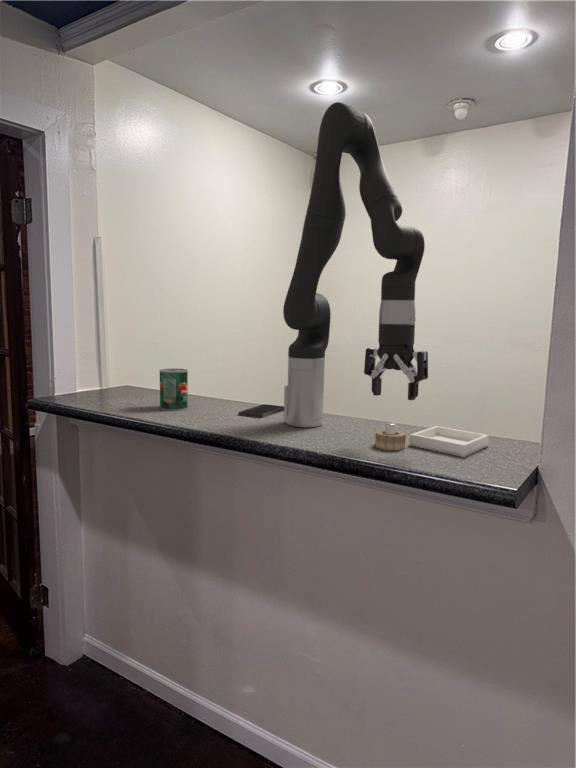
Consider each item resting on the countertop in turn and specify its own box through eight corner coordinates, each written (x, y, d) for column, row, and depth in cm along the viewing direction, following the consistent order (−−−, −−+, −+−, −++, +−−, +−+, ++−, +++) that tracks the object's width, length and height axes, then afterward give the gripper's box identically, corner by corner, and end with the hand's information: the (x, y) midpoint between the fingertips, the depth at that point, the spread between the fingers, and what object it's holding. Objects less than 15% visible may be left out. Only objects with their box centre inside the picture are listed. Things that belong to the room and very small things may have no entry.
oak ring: (369, 446, 118) (370, 432, 117) (385, 441, 123) (385, 428, 122) (395, 451, 114) (395, 437, 113) (410, 446, 118) (411, 433, 118)
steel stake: (382, 446, 118) (384, 423, 117) (388, 444, 120) (389, 422, 119) (391, 448, 117) (392, 425, 116) (396, 446, 118) (398, 423, 118)
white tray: (409, 445, 119) (409, 434, 119) (435, 436, 128) (436, 425, 128) (463, 457, 111) (464, 445, 110) (487, 446, 120) (488, 435, 120)
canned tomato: (190, 410, 153) (190, 371, 151) (162, 411, 150) (161, 372, 148) (185, 404, 160) (184, 368, 158) (157, 406, 157) (157, 368, 155)
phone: (287, 406, 157) (261, 415, 144) (287, 410, 157) (261, 419, 144) (263, 404, 160) (236, 412, 147) (263, 407, 161) (236, 416, 147)
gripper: (358, 321, 116) (356, 395, 118) (418, 323, 107) (415, 403, 109) (377, 321, 122) (375, 392, 124) (436, 322, 112) (432, 399, 115)
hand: (394, 397), depth 117 cm, fingers open, 8 cm apart
